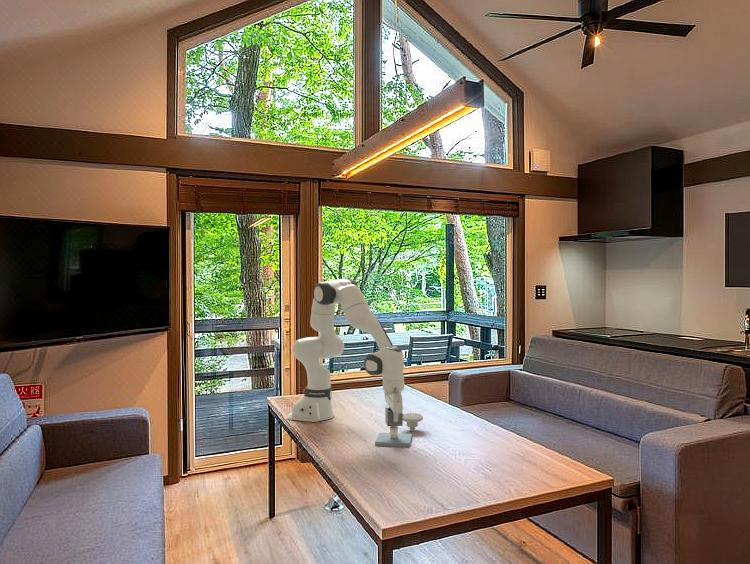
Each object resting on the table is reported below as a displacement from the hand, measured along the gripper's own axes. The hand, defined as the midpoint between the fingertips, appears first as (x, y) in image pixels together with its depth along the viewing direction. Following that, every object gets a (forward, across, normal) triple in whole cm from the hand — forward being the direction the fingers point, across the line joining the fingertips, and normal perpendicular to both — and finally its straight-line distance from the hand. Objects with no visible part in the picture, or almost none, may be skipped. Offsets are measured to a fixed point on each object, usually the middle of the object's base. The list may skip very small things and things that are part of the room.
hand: (393, 418), depth 216 cm
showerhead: (+10, +14, -10) cm, 20 cm away
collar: (+2, 0, 0) cm, 2 cm away
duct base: (+10, 0, 0) cm, 10 cm away
